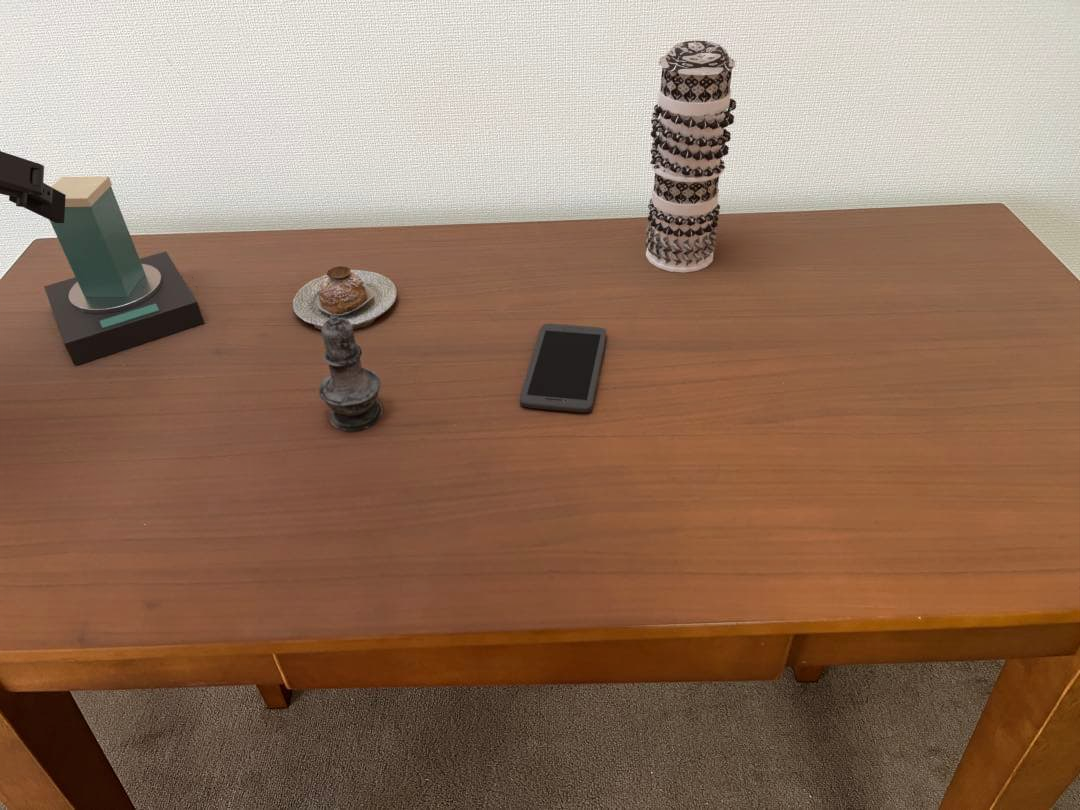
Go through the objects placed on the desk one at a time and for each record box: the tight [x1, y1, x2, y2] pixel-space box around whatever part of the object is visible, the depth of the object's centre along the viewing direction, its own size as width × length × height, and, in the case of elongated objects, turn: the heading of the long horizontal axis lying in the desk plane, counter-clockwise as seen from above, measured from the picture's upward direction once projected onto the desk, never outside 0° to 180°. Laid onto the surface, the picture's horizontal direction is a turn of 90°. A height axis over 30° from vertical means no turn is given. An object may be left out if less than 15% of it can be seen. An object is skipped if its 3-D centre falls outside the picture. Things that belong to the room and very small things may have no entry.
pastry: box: [292, 265, 398, 331], centre depth 95 cm, size 12×12×5 cm
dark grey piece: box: [318, 312, 384, 433], centre depth 77 cm, size 6×6×12 cm
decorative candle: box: [645, 40, 737, 274], centre depth 95 cm, size 9×9×25 cm
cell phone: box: [519, 323, 607, 414], centre depth 85 cm, size 7×14×1 cm, turn 170°
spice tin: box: [49, 175, 145, 297], centre depth 90 cm, size 5×5×12 cm
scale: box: [43, 250, 205, 367], centre depth 95 cm, size 14×14×3 cm
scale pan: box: [69, 264, 162, 314], centre depth 95 cm, size 10×10×1 cm
